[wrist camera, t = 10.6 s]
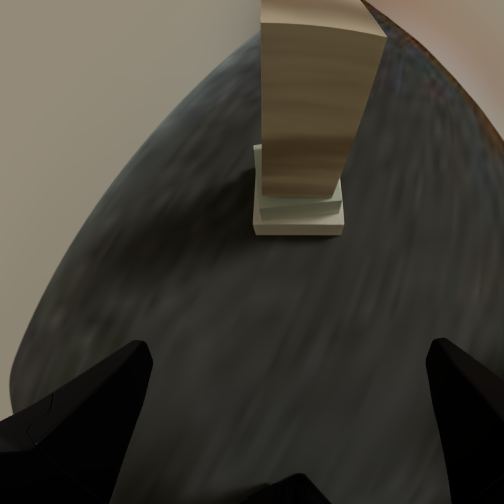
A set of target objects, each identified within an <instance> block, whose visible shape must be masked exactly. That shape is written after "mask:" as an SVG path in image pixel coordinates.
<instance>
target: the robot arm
mask: <svg viewBox="0 0 504 504" xmlns="http://www.w3.org/2000/svg"><path fill="white" fill-rule="evenodd" d="M152 367H153V359H152V356H151V354H150V351H149V349H148V346H147V344H146V342H144V341H139V340H133V341H131V342H130V343H128V344H127V345H125V346H123V347H122V348H120V349H119V350H117V351H116V352H114V353H113V354H111V355H110V356H108V357H107V358H105V359H104V360H102V361H100V362H99V363H97V364H96V365H94V366H93V367H91V368H90V369H88V370H87V371H85V372H83V373H82V374H80V375H79V376H77V377H76V378H74V379H73V380H71V381H69V382H68V383H66V384H65V385H63V386H62V387H60V388H59V389H57V390H55V391H54V393H53V392H52V393H51V394H49V395H48V396H46V397H44V398H43V399H41V400H39V401H38V402H36V403H35V404H33V405H31V406H29V407H27V408H25V409H24V410H22V411H20V412H18V413H16V414H14V415H12V416H10V417H8V418H6V419H4V420H2V421H0V504H109V502H110V499H111V496H112V493H113V490H114V487H115V484H116V480H117V477H118V474H119V471H120V468H121V465H122V462H123V459H124V457H125V454H126V451H127V448H128V445H129V442H130V439H131V436H132V434H133V431H134V428H135V425H136V422H137V420H138V417H139V414H140V411H141V409H142V406H143V402H144V399H145V395H146V391H147V387H148V383H149V379H150V375H151V371H152ZM426 369H427V374H428V380H429V386H430V392H431V398H432V404H433V408H434V413H435V417H436V421H437V425H438V429H439V433H440V438H441V442H442V447H443V452H444V457H445V462H446V468H447V474H448V480H449V487H450V494H451V502H452V504H504V381H503V380H502V379H501V378H499V377H498V376H497V375H495V374H494V373H493V372H491V371H490V370H489V369H487V368H486V367H485V366H483V365H482V364H481V363H479V362H478V361H477V360H475V359H474V358H473V357H471V356H470V355H469V354H467V353H466V352H464V351H463V350H462V349H460V348H459V347H458V346H456V345H455V344H453V343H452V342H451V341H449V340H448V339H446V338H437V339H434V340H433V341H432V343H431V346H430V349H429V352H428V354H427V357H426ZM298 478H303V481H298V480H297V479H298ZM240 504H331V502H330V501H329V500H328V499H327V498H326V497H325V496H324V495H323V494H322V493H321V492H320V491H319V490H318V488H317V487H316V486H315V485H314V484H313V483H312V482H311V481H310V480H309V478H308V477H307V476H306V475H305V474H302V473H299V474H297V475H295V476H293V477H291V478H290V479H288V480H286V481H284V482H282V483H281V484H279V483H274V484H272V485H271V486H269V487H267V488H265V489H263V490H261V491H259V492H257V493H255V494H253V495H251V496H249V497H248V500H247V501H244V502H242V503H240Z"/></svg>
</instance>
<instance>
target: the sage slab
mask: <svg viewBox="0 0 504 504" xmlns="http://www.w3.org/2000/svg"><path fill="white" fill-rule="evenodd" d="M254 155H255V167H256V179H257V191H258V203H259V211H260V215H261V219H262V221H269V220H278V219H287V218H297V217H306V216H316V215H326V214H336V213H339V212H340V208H341V204H342V196H341V192H340V188H339V184H337V186H336V189H335V191H334V194H333V196H332V198H321V197H297V196H262V144H260V145H254Z"/></svg>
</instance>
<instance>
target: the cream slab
mask: <svg viewBox="0 0 504 504" xmlns="http://www.w3.org/2000/svg"><path fill="white" fill-rule="evenodd" d="M338 184H339V188H340V192H341V184H340V178H339V181H338ZM341 196H342V194H341ZM253 227H254V230H255V233H256V235H341V233H342V230H343V227H344V215H343V204H341V208H340V212H339V213H336V214H326V215H316V216H306V217H297V218H287V219H278V220H269V221H262V219H261V215H260V211H259V203H258V191H257V179H256V181H255V197H254V212H253Z"/></svg>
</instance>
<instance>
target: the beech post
mask: <svg viewBox="0 0 504 504" xmlns="http://www.w3.org/2000/svg"><path fill="white" fill-rule="evenodd" d="M386 40H387V36H386V35H385V33H384V32H383V30H382V29H381V28H380V26H379V25H378V23H377V22H376V21H375V19H374V18H373V17H372V15H371V14H370V13H369V11H368V10H367V9H366V7H365V6H364V5H363V4H362V2H361V1H360V0H261V102H262V196H297V197H321V198H332V196H333V194H334V191H335V189H336V186H337V184H338V181H339V178H340V176H341V173H342V170H343V168H344V165H345V162H346V160H347V157H348V154H349V152H350V149H351V146H352V143H353V141H354V138H355V135H356V132H357V129H358V127H359V124H360V121H361V118H362V115H363V112H364V109H365V106H366V103H367V101H368V98H369V95H370V91H371V88H372V85H373V82H374V79H375V76H376V73H377V70H378V67H379V63H380V60H381V57H382V54H383V50H384V47H385V44H386Z"/></svg>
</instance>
